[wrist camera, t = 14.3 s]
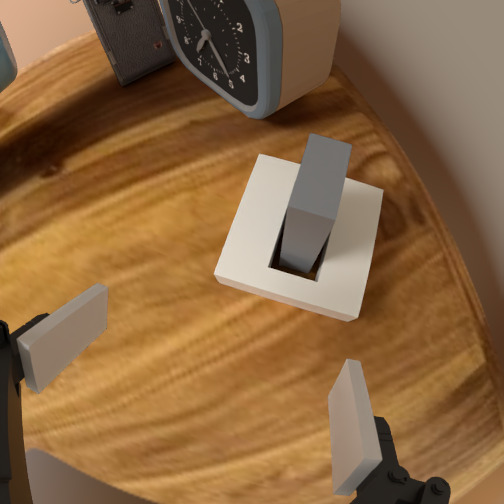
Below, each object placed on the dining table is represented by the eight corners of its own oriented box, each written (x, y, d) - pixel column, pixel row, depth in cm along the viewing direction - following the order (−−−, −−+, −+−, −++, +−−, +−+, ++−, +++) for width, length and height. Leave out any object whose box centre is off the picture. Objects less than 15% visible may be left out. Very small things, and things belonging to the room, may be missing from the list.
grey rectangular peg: (278, 264, 31) (287, 206, 19) (295, 211, 33) (310, 132, 21) (308, 273, 31) (335, 220, 19) (322, 219, 33) (352, 144, 20)
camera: (157, 42, 49) (125, -42, 32) (181, 64, 40) (141, -51, 24) (105, 68, 48) (66, -15, 31) (114, 96, 39) (61, -15, 22)
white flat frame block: (219, 282, 31) (213, 274, 28) (260, 171, 35) (259, 153, 31) (347, 321, 29) (357, 317, 26) (373, 205, 33) (383, 189, 30)
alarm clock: (176, 68, 41) (143, -54, 21) (226, 42, 43) (212, -75, 22) (267, 143, 36) (266, -28, 15) (323, 108, 38) (349, -43, 17)
